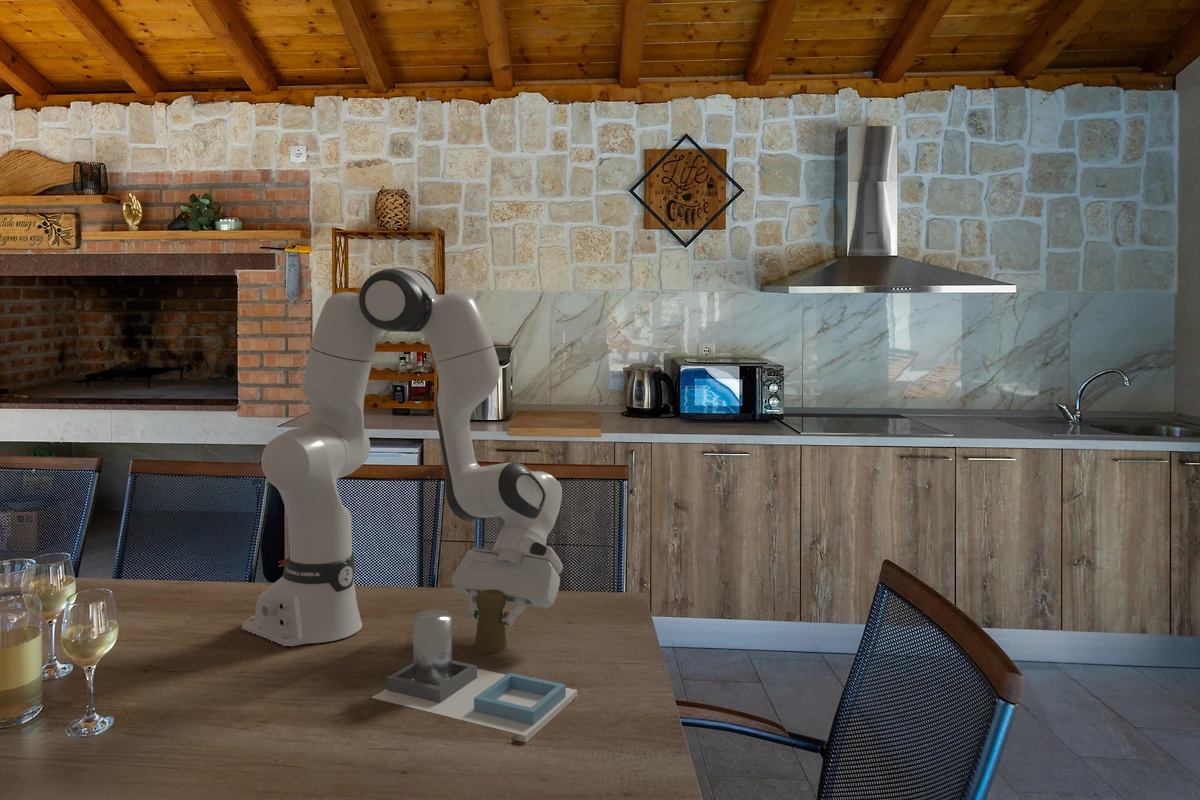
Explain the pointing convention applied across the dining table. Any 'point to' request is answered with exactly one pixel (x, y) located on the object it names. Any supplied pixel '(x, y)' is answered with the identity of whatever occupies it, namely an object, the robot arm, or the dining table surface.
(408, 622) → the dining table surface
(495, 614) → the cork
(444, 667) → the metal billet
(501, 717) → the pallet board
